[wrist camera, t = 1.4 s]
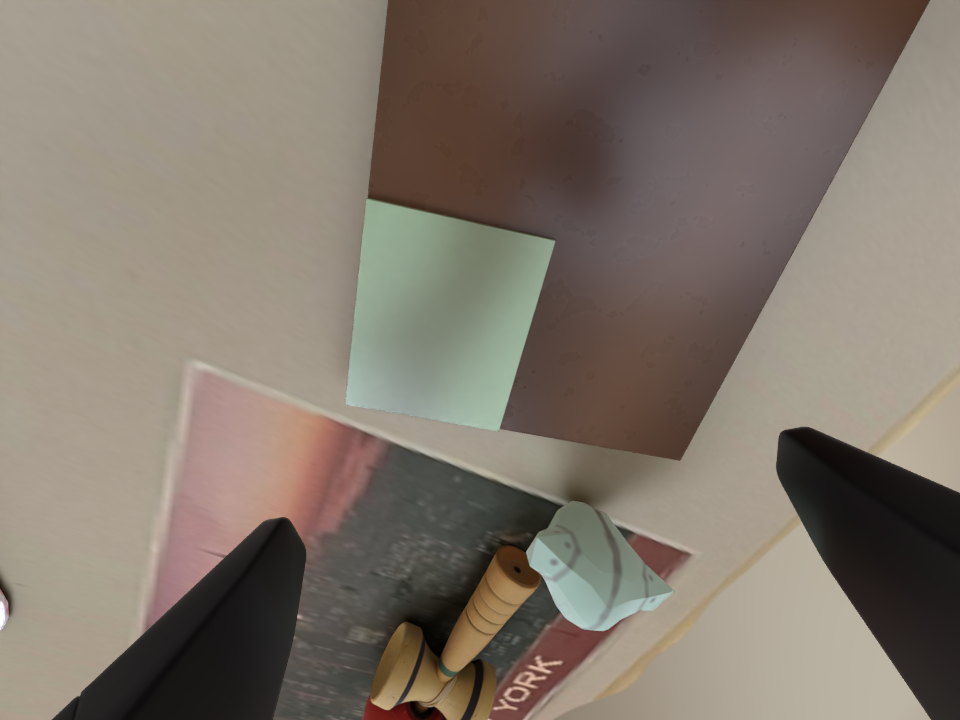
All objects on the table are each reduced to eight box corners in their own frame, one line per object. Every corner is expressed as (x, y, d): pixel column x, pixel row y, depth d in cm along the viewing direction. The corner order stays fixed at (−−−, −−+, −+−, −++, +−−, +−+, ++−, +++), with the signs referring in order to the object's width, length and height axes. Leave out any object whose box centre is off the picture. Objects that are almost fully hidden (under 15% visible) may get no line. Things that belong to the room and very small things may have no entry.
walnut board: (912, -49, 16) (973, -69, 14) (666, 435, 25) (682, 463, 23) (422, -204, 14) (412, -251, 12) (355, 378, 23) (344, 404, 21)
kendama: (445, 506, 29) (335, 694, 35) (467, 596, 24) (332, 804, 29) (549, 530, 32) (433, 700, 38) (590, 616, 27) (446, 800, 32)
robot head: (653, 510, 28) (701, 624, 22) (610, 553, 29) (644, 669, 24) (534, 458, 26) (551, 567, 20) (496, 507, 28) (501, 620, 22)
